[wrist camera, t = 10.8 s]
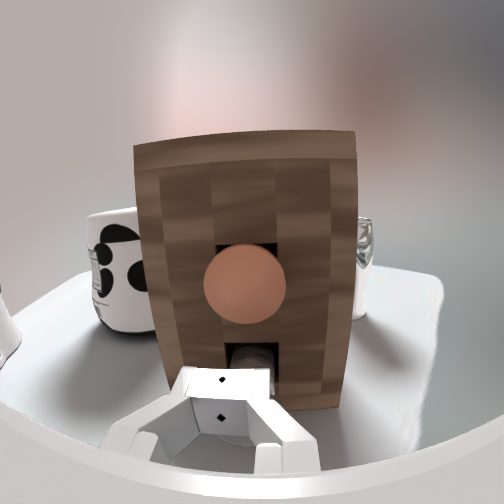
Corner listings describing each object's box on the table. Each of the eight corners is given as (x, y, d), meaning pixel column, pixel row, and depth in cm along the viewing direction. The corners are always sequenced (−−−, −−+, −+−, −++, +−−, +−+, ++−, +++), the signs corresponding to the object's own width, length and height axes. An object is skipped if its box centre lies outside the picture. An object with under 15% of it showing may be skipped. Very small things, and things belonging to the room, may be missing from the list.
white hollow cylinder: (326, 302, 47) (329, 215, 43) (365, 303, 45) (371, 216, 41) (324, 321, 41) (328, 221, 37) (369, 322, 39) (377, 222, 35)
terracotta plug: (285, 323, 18) (285, 245, 17) (207, 323, 18) (199, 248, 17) (280, 279, 26) (279, 224, 25) (225, 281, 27) (221, 226, 25)
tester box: (338, 406, 23) (355, 131, 17) (175, 406, 24) (133, 145, 18) (323, 352, 33) (326, 148, 27) (196, 353, 34) (175, 155, 28)
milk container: (208, 299, 51) (200, 201, 47) (179, 350, 35) (160, 211, 30) (128, 297, 53) (115, 208, 49) (81, 337, 36) (56, 222, 32)
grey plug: (286, 446, 16) (288, 397, 14) (211, 444, 16) (200, 396, 15) (282, 375, 24) (283, 328, 23) (226, 376, 24) (221, 329, 23)
